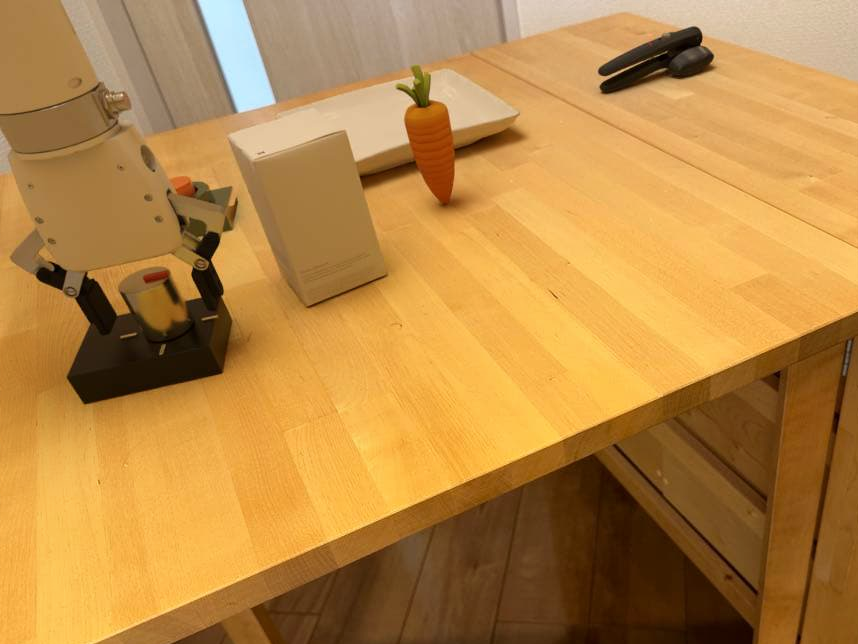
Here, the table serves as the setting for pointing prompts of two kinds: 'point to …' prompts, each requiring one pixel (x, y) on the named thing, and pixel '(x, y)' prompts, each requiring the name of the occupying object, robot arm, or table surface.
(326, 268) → the white product box
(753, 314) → the table surface
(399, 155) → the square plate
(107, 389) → the stove panel
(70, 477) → the table surface
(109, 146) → the robot arm
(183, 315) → the burner knob
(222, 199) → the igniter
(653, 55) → the can opener
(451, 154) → the carrot
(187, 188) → the button
